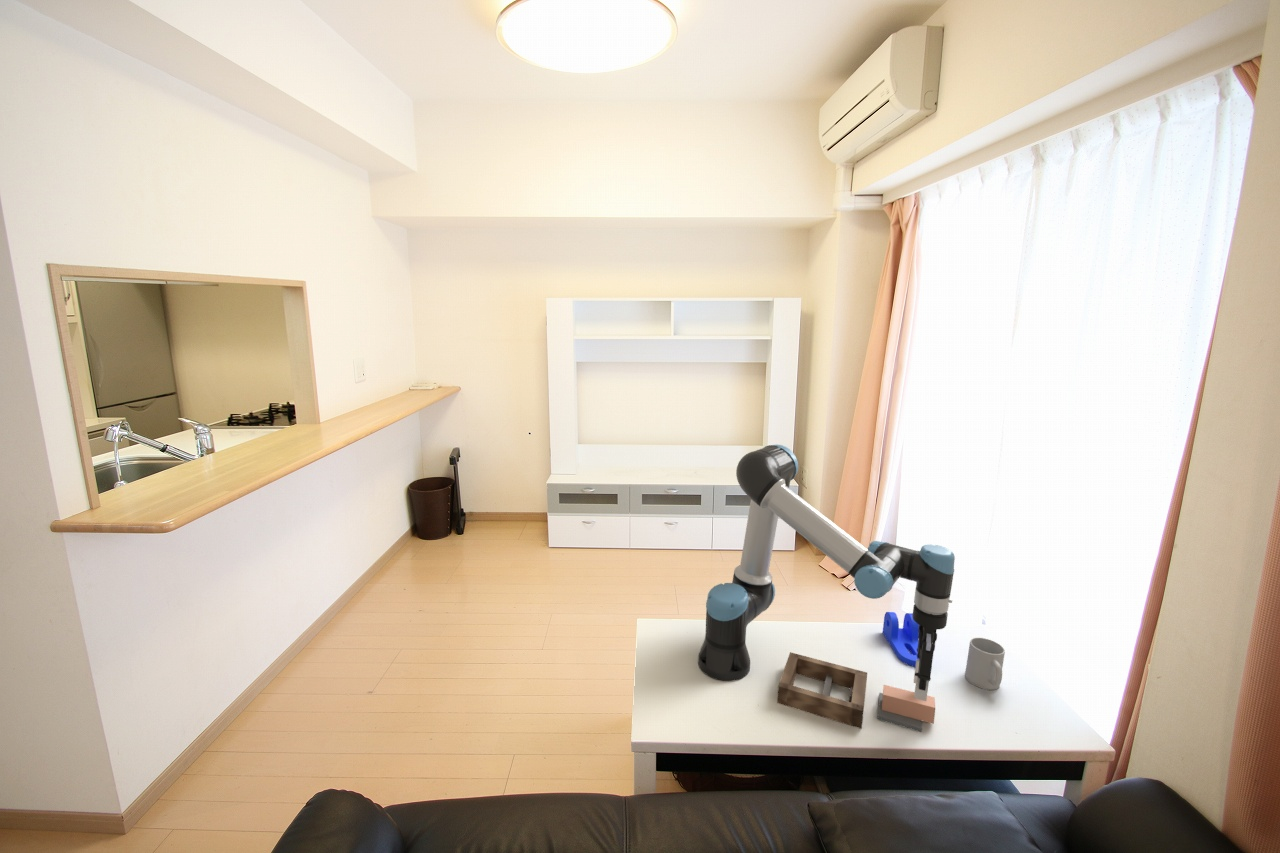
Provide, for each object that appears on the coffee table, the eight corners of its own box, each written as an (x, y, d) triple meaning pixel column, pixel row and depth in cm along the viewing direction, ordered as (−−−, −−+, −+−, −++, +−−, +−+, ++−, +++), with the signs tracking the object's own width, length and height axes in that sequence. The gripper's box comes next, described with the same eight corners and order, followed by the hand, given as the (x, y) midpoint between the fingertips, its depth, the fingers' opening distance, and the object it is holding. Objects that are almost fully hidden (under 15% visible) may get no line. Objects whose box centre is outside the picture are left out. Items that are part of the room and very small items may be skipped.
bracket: (882, 632, 181) (885, 607, 179) (908, 634, 180) (911, 609, 178) (903, 666, 163) (906, 639, 161) (932, 668, 162) (936, 641, 161)
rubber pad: (877, 719, 141) (878, 715, 141) (879, 695, 150) (879, 692, 149) (921, 732, 137) (921, 728, 136) (920, 707, 145) (920, 703, 145)
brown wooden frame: (777, 702, 146) (778, 686, 145) (788, 667, 161) (790, 652, 160) (861, 728, 137) (863, 711, 136) (865, 688, 152) (867, 672, 151)
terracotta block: (881, 709, 143) (883, 694, 142) (882, 699, 147) (883, 684, 146) (933, 723, 138) (935, 707, 137) (932, 712, 142) (934, 697, 141)
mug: (959, 670, 162) (964, 636, 159) (989, 672, 161) (994, 638, 159) (980, 697, 150) (986, 661, 148) (1013, 699, 149) (1019, 663, 147)
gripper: (951, 630, 126) (938, 719, 130) (945, 594, 142) (934, 674, 147) (914, 622, 129) (903, 709, 133) (913, 588, 145) (903, 666, 150)
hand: (919, 690), depth 140 cm, fingers open, 6 cm apart
